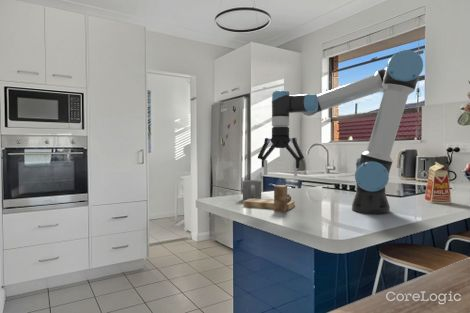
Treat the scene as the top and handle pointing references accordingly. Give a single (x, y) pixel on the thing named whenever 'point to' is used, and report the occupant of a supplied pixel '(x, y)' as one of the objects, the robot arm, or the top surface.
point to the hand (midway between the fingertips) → (280, 175)
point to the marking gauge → (281, 198)
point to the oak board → (265, 203)
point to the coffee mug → (251, 189)
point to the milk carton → (438, 185)
